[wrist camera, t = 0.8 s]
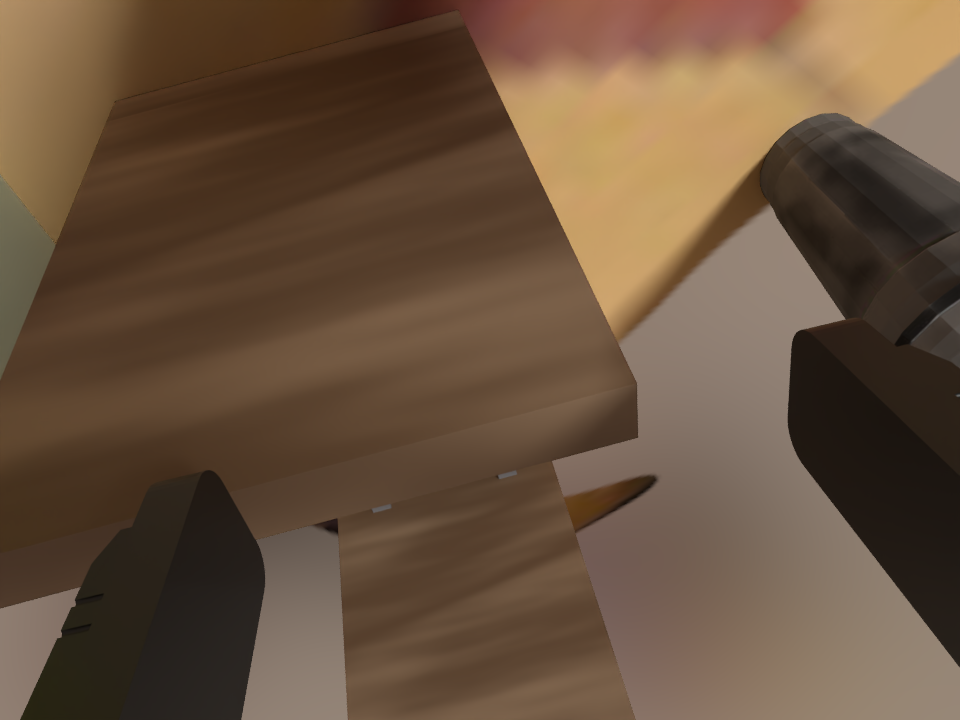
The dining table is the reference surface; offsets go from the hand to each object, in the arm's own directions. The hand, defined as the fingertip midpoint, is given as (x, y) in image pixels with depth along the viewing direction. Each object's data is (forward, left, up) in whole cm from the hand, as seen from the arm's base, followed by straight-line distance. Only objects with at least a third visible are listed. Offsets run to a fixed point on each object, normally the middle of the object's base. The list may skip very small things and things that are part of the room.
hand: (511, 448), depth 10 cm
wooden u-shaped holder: (+13, -4, -19) cm, 23 cm away
